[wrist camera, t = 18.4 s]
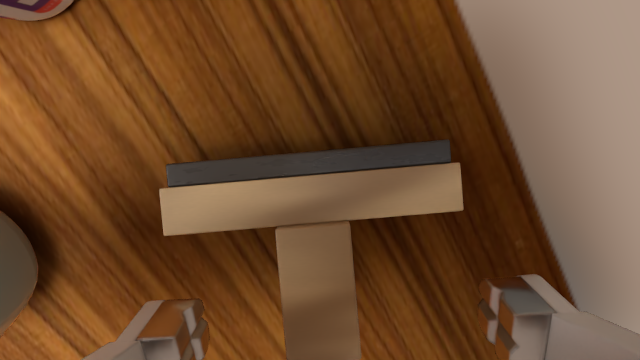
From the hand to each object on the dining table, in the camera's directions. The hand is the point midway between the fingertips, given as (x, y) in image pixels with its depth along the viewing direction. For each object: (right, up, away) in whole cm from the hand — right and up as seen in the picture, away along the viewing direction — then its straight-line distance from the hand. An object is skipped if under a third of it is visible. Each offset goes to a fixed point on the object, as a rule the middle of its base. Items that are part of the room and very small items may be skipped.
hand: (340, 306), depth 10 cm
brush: (-1, +5, +3) cm, 6 cm away
